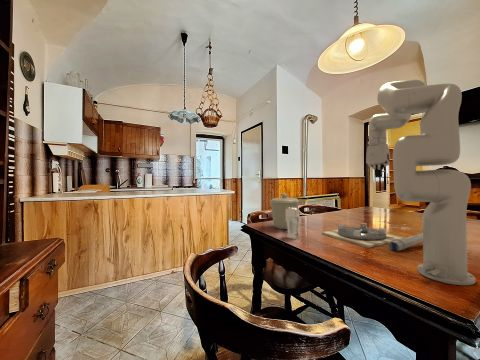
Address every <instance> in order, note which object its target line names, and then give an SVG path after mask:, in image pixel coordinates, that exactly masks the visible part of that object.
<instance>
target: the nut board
mask: <svg viewBox="0 0 480 360" xmlns="http://www.w3.org/2000/svg"><path fill="white" fill-rule="evenodd" d="M321 235H323V236H326V237H330V238H334V239H336V240H339V241H343V242H346V243H350V244H351V245H352V244H353V245H355V246H359V247H362V248H366V249H369V248H375V247H379V246H383V245H389V243H390V242H392V241H395V240H396V239H402V238H406V237H407V236H406V237H405V236H401V235H396V234H392V233H387V232H386V238H385V239H381V240H360V239H353V238H348V237H344V236H342V235H340V234H338V229H333V230H328V231H327V230H325V231H321Z"/></svg>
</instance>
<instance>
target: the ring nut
mask: <svg viewBox="0 0 480 360" xmlns="http://www.w3.org/2000/svg"><path fill="white" fill-rule="evenodd" d="M337 225H338V226H337V230H338V234H340V235H342V236H344V237H348V238H353V239H360V240H381V239H385V238H386V233H387V228H382V227H381V228H380V227H379V228H378V229H377V228H372V227H371V228H370V227H368V223H365V222H360V225H359V226H345V224H343V223H342V224H341V223H339V224H337Z"/></svg>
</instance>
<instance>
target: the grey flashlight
mask: <svg viewBox="0 0 480 360" xmlns="http://www.w3.org/2000/svg"><path fill="white" fill-rule="evenodd" d="M420 243H423V232H422V233H418V234H415V235H411V236H406V238H402V239H396V240H395V241H392V242H390V243H388V247H389V250H390V251H393V252H396V251H397V252H400V251H404V250H406V249H407V248H410V247H412V246H415V245H419V244H420Z"/></svg>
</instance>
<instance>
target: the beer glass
mask: <svg viewBox="0 0 480 360" xmlns="http://www.w3.org/2000/svg"><path fill="white" fill-rule="evenodd" d="M285 218H286V224H287V229H286V230H287V234H286V238H287V239H290V240H298V239H300V235H299V226H300V208H299V207H298V208H297V207H288V208H286V212H285Z"/></svg>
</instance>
